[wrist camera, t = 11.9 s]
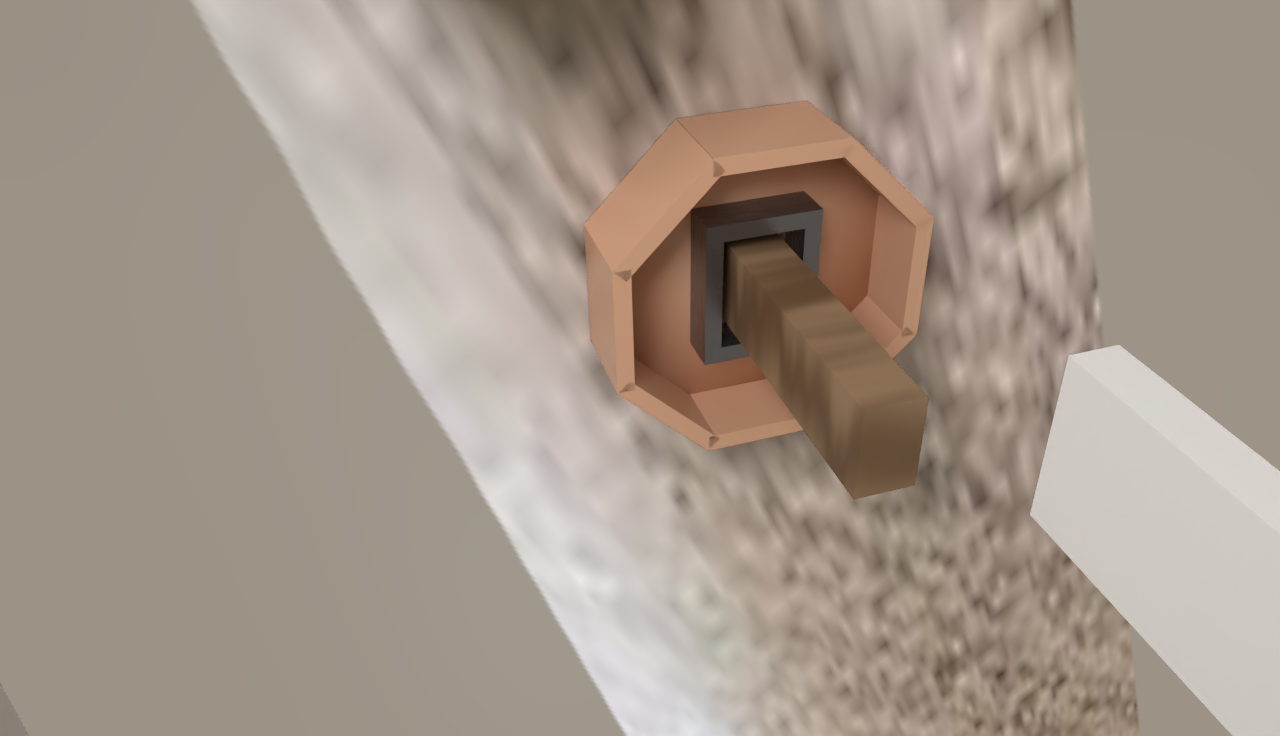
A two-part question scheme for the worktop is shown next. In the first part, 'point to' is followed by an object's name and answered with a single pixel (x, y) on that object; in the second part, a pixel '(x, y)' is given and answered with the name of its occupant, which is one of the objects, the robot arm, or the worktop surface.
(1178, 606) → the robot arm
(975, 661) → the worktop surface
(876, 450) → the wooden bar
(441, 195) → the worktop surface
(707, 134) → the orange octagonal tray
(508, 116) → the worktop surface
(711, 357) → the grey rectangular sleeve
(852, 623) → the worktop surface
